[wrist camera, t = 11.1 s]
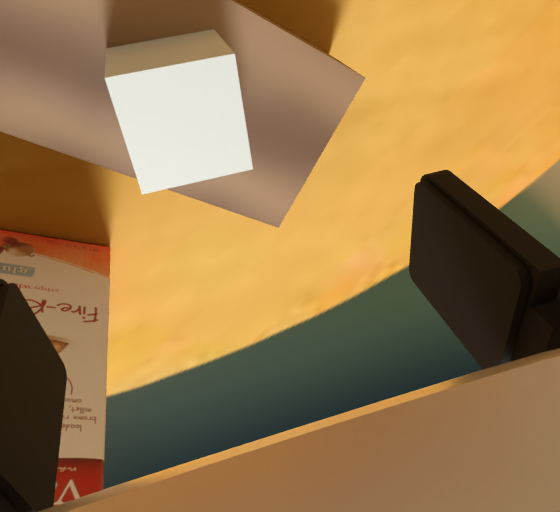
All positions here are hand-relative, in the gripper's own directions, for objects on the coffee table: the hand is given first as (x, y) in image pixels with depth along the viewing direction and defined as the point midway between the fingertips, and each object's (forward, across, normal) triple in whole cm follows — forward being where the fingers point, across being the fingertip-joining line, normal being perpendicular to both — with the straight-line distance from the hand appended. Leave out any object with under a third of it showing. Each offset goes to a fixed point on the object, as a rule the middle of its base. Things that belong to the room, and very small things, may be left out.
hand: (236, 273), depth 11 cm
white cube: (+16, 0, 0) cm, 16 cm away
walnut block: (+22, 0, 0) cm, 22 cm away
